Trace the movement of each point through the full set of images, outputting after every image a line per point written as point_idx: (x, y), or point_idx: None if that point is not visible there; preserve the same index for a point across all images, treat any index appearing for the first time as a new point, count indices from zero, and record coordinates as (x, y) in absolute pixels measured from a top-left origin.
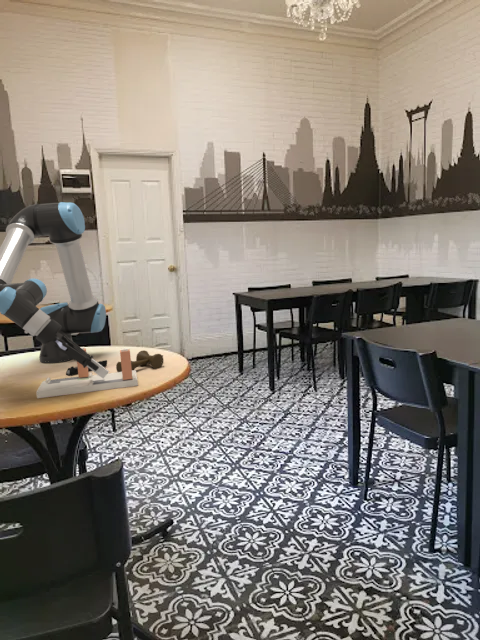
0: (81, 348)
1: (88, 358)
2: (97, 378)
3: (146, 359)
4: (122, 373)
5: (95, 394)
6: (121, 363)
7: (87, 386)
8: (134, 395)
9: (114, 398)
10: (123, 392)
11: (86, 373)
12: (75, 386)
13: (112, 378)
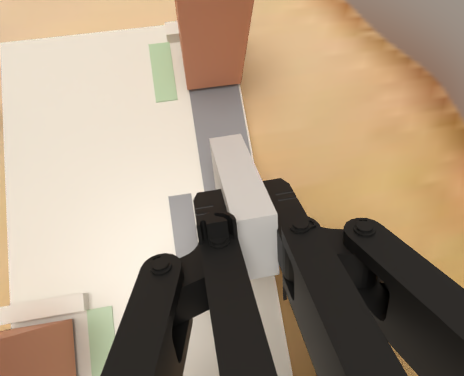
0: (112, 365)
1: (366, 224)
2: (118, 248)
3: None
4: (243, 61)
5: (326, 226)
6: (250, 20)
7: (273, 278)
8: (384, 41)
9: (413, 121)
10: (325, 93)
11: (65, 331)
12: (273, 355)
13: (156, 153)
